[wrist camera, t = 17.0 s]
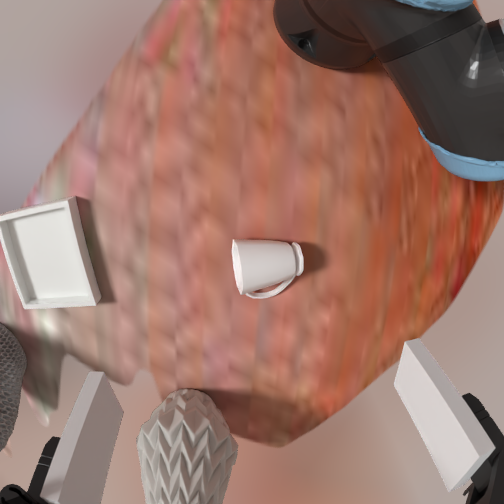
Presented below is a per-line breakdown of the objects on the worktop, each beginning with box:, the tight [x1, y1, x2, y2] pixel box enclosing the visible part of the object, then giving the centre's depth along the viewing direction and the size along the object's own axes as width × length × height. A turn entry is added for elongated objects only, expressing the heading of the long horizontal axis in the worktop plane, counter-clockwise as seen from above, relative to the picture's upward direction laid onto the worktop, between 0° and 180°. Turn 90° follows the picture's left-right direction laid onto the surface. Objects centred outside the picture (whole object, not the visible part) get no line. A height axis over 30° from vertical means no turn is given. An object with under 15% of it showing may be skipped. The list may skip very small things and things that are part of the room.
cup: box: [232, 239, 303, 298], centre depth 42 cm, size 7×10×8 cm
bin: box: [0, 196, 102, 309], centre depth 40 cm, size 16×15×2 cm
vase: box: [136, 389, 238, 504], centre depth 38 cm, size 17×17×33 cm
